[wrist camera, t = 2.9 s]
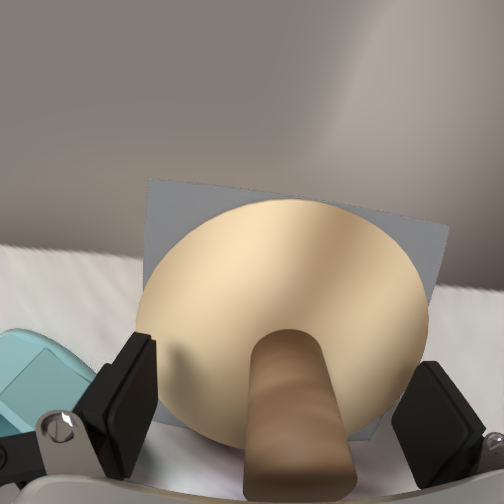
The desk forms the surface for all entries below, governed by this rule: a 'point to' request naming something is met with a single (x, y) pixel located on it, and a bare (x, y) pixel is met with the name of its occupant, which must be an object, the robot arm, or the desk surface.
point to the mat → (224, 198)
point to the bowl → (36, 379)
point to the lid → (285, 339)
